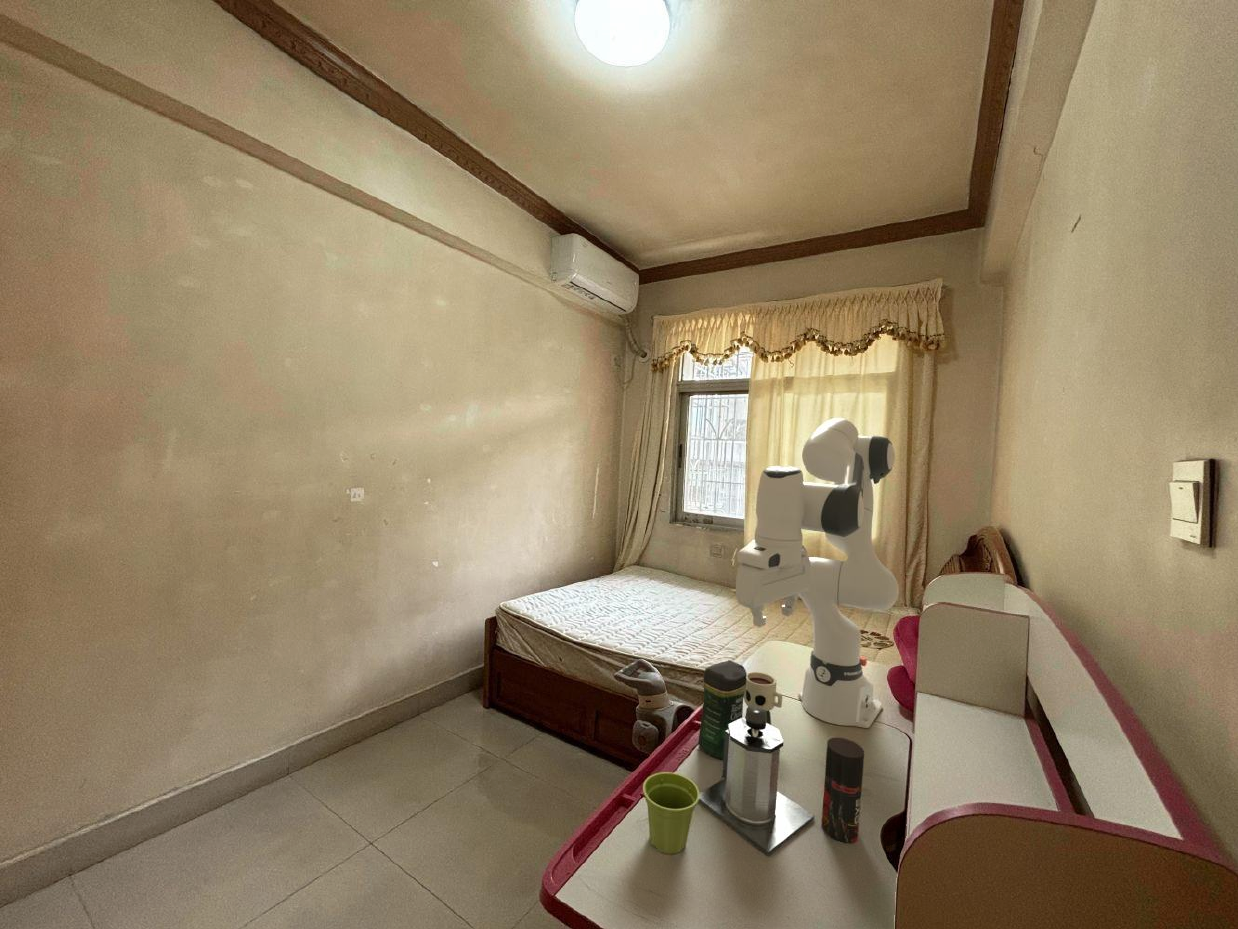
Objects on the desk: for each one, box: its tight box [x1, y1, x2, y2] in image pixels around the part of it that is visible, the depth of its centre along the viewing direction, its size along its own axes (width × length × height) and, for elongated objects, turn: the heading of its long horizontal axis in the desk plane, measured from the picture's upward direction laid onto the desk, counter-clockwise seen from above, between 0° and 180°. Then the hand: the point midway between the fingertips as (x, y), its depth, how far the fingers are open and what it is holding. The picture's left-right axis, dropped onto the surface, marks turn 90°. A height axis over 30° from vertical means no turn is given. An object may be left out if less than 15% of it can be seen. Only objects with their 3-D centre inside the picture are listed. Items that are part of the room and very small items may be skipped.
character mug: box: [743, 671, 783, 726], centre depth 118 cm, size 11×7×13 cm, turn 48°
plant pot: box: [642, 771, 700, 855], centre depth 84 cm, size 9×9×9 cm
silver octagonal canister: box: [698, 717, 815, 857], centre depth 92 cm, size 14×16×15 cm
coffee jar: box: [698, 659, 748, 760], centre depth 111 cm, size 10×8×19 cm
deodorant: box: [821, 737, 865, 845], centre depth 88 cm, size 6×6×15 cm
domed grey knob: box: [745, 706, 767, 737], centre depth 91 cm, size 4×4×14 cm
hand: (773, 620), depth 98 cm, fingers open, 8 cm apart
